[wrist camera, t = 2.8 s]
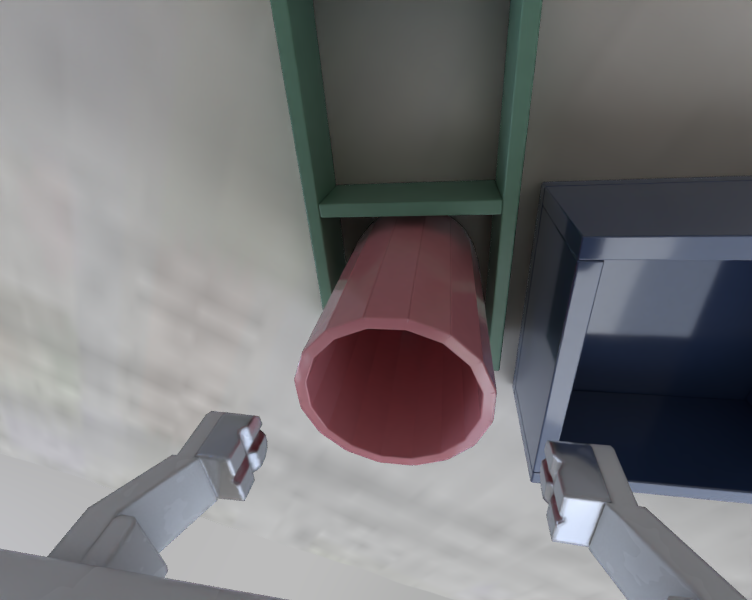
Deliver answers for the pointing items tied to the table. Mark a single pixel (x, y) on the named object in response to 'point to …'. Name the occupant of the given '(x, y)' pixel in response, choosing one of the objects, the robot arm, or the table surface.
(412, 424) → the cup
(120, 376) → the table surface
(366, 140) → the table surface
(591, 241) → the navy blue open box
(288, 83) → the rack
